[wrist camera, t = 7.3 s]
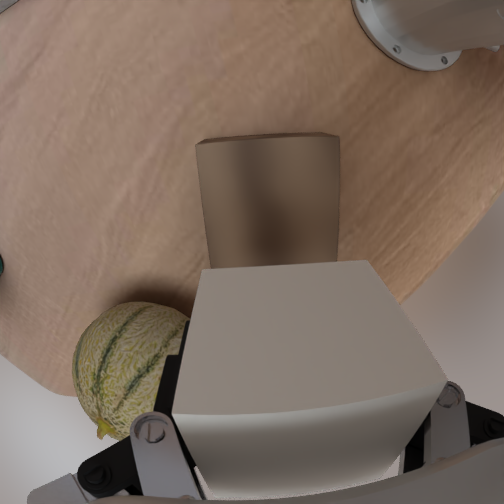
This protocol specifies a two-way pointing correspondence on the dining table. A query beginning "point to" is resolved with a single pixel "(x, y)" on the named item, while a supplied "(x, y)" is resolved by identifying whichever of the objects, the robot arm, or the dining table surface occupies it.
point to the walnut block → (270, 198)
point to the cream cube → (300, 379)
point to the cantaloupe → (124, 363)
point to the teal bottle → (1, 266)
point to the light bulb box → (6, 4)
